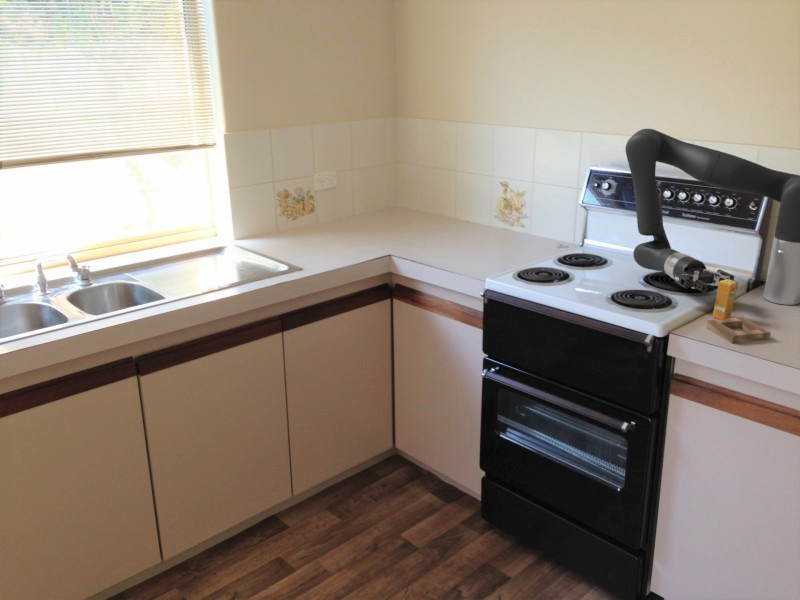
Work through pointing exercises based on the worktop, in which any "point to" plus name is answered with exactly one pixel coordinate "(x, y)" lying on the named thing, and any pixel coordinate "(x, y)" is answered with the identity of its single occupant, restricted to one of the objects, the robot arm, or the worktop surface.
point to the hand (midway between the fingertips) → (721, 287)
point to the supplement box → (725, 299)
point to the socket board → (748, 335)
